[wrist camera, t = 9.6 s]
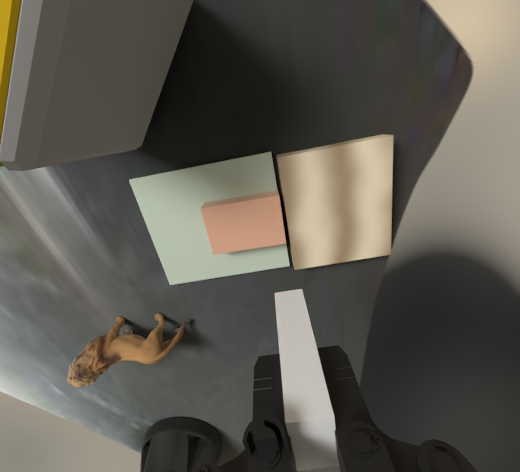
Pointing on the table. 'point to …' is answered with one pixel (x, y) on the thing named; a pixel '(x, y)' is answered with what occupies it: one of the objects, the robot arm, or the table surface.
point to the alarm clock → (81, 76)
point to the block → (244, 222)
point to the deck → (338, 201)
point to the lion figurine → (120, 351)
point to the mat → (191, 220)
